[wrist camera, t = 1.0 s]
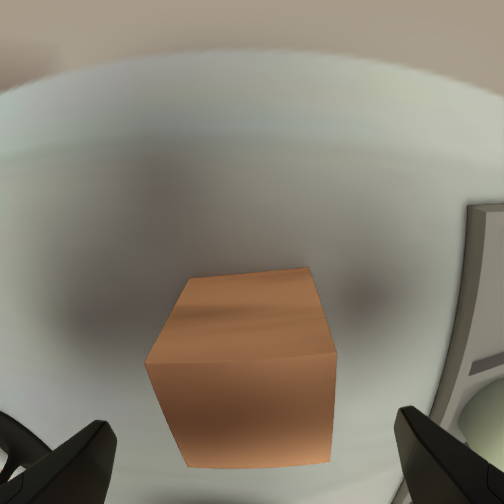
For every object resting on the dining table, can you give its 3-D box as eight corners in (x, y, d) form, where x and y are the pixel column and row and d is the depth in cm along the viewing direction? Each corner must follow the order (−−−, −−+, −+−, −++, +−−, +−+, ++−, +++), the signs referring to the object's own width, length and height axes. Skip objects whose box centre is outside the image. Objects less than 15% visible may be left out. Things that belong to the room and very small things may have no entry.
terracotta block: (312, 362, 15) (329, 461, 9) (210, 369, 15) (187, 467, 9) (308, 266, 13) (336, 351, 8) (189, 278, 14) (144, 363, 8)
